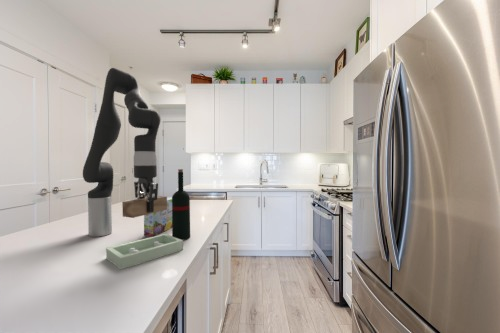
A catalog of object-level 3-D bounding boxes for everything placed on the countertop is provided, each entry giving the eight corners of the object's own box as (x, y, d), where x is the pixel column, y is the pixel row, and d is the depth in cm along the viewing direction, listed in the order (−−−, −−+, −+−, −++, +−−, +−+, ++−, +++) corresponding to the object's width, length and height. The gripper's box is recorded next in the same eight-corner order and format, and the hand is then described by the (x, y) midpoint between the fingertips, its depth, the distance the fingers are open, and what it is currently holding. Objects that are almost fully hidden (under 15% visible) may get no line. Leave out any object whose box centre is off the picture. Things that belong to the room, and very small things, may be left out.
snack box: (154, 237, 105) (154, 203, 105) (143, 236, 106) (142, 203, 106) (178, 224, 126) (178, 196, 126) (168, 224, 127) (168, 196, 127)
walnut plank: (122, 216, 80) (122, 201, 80) (157, 208, 94) (157, 195, 94) (132, 217, 78) (132, 202, 78) (167, 209, 92) (166, 196, 92)
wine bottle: (185, 232, 112) (184, 168, 112) (193, 238, 104) (192, 169, 103) (168, 235, 108) (167, 169, 107) (174, 241, 99) (173, 169, 99)
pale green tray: (106, 258, 82) (106, 248, 82) (165, 242, 99) (165, 233, 99) (121, 269, 74) (120, 258, 74) (183, 249, 90) (183, 240, 90)
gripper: (165, 164, 84) (165, 212, 84) (146, 164, 93) (147, 207, 94) (144, 164, 78) (144, 215, 78) (126, 164, 88) (127, 210, 88)
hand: (146, 210), depth 86 cm, fingers closed on walnut plank, 6 cm apart
